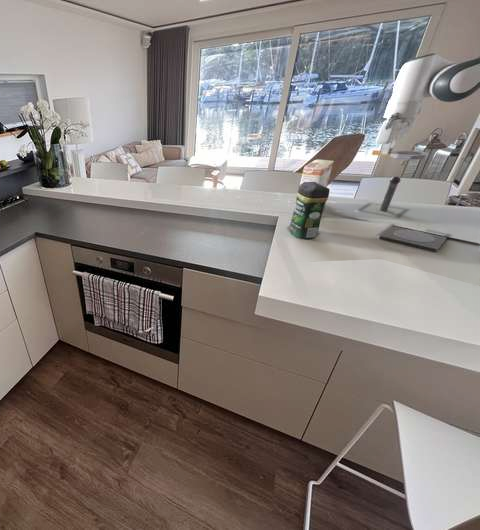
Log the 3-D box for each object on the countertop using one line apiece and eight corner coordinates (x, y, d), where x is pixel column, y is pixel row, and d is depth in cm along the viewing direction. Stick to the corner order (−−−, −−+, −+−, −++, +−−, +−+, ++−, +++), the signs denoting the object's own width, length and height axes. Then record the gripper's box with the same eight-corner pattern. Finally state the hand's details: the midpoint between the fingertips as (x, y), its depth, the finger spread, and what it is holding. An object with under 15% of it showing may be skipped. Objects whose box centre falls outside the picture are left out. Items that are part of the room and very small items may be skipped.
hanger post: (406, 212, 114) (422, 175, 107) (396, 220, 108) (412, 182, 101) (369, 205, 123) (382, 171, 115) (358, 213, 117) (371, 177, 110)
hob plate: (447, 238, 94) (448, 235, 94) (435, 252, 87) (437, 249, 87) (393, 226, 104) (394, 224, 104) (379, 238, 98) (380, 235, 97)
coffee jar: (284, 229, 110) (295, 180, 100) (306, 228, 109) (319, 179, 99) (296, 240, 101) (310, 188, 92) (320, 239, 100) (336, 186, 91)
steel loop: (429, 155, 101) (431, 151, 101) (421, 160, 97) (423, 156, 96) (377, 152, 112) (378, 148, 112) (367, 156, 108) (368, 152, 107)
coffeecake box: (304, 203, 131) (315, 159, 121) (322, 206, 127) (335, 160, 117) (292, 213, 123) (303, 166, 113) (311, 216, 118) (324, 167, 108)
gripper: (403, 114, 93) (386, 159, 100) (422, 108, 102) (406, 149, 109) (379, 115, 97) (364, 157, 104) (399, 109, 107) (385, 148, 114)
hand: (386, 153), depth 107 cm, fingers closed on steel loop, 1 cm apart
